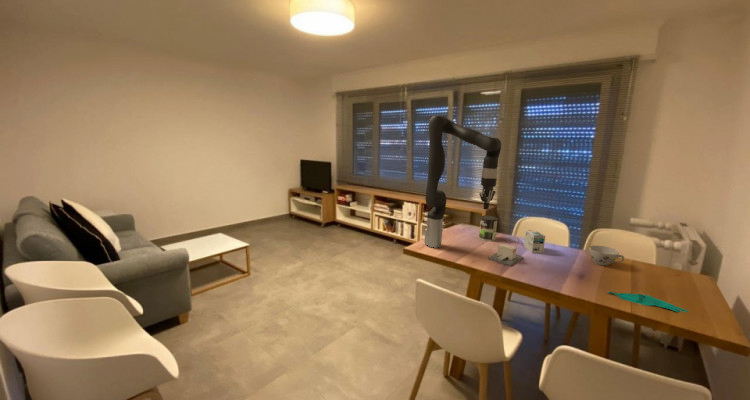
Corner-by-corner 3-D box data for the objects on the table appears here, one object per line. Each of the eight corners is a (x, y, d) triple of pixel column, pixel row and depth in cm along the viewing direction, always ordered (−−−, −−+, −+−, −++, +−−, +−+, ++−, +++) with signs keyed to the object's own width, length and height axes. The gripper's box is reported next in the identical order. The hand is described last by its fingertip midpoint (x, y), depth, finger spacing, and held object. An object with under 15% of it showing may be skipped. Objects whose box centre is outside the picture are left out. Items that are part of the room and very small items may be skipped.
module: (497, 255, 170) (498, 245, 169) (500, 253, 173) (502, 243, 172) (511, 260, 164) (513, 249, 163) (515, 258, 167) (516, 247, 166)
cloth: (691, 309, 124) (692, 304, 123) (690, 323, 114) (692, 317, 114) (610, 286, 142) (611, 281, 141) (604, 296, 132) (605, 291, 132)
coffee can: (485, 241, 196) (487, 220, 193) (475, 236, 205) (477, 215, 203) (499, 240, 199) (501, 219, 196) (488, 235, 209) (490, 215, 206)
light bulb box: (543, 253, 178) (546, 235, 176) (531, 253, 178) (534, 235, 176) (534, 247, 188) (536, 229, 186) (523, 246, 189) (525, 229, 186)
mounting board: (488, 259, 168) (488, 257, 168) (502, 252, 179) (502, 250, 178) (510, 266, 159) (510, 264, 159) (523, 258, 170) (523, 256, 170)
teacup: (585, 263, 165) (588, 249, 163) (588, 257, 174) (590, 243, 172) (621, 272, 155) (624, 257, 154) (622, 264, 165) (625, 250, 163)
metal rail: (497, 259, 165) (497, 257, 165) (509, 253, 174) (509, 251, 174) (502, 261, 163) (502, 259, 163) (514, 254, 172) (514, 252, 172)
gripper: (488, 175, 169) (485, 206, 173) (475, 176, 160) (472, 209, 164) (502, 176, 164) (498, 208, 167) (489, 178, 155) (486, 212, 158)
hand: (485, 209), depth 165 cm, fingers closed
